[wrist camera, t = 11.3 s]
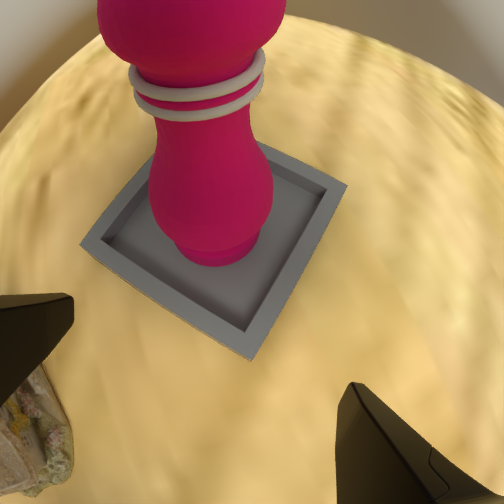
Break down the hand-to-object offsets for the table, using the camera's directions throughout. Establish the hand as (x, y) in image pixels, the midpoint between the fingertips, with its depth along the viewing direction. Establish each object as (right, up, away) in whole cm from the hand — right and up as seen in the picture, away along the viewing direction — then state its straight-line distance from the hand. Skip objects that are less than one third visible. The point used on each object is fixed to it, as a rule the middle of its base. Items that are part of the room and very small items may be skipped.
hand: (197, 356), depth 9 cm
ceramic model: (-17, -10, +8) cm, 21 cm away
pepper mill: (-1, +5, +13) cm, 14 cm away
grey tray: (-1, +5, +14) cm, 15 cm away
